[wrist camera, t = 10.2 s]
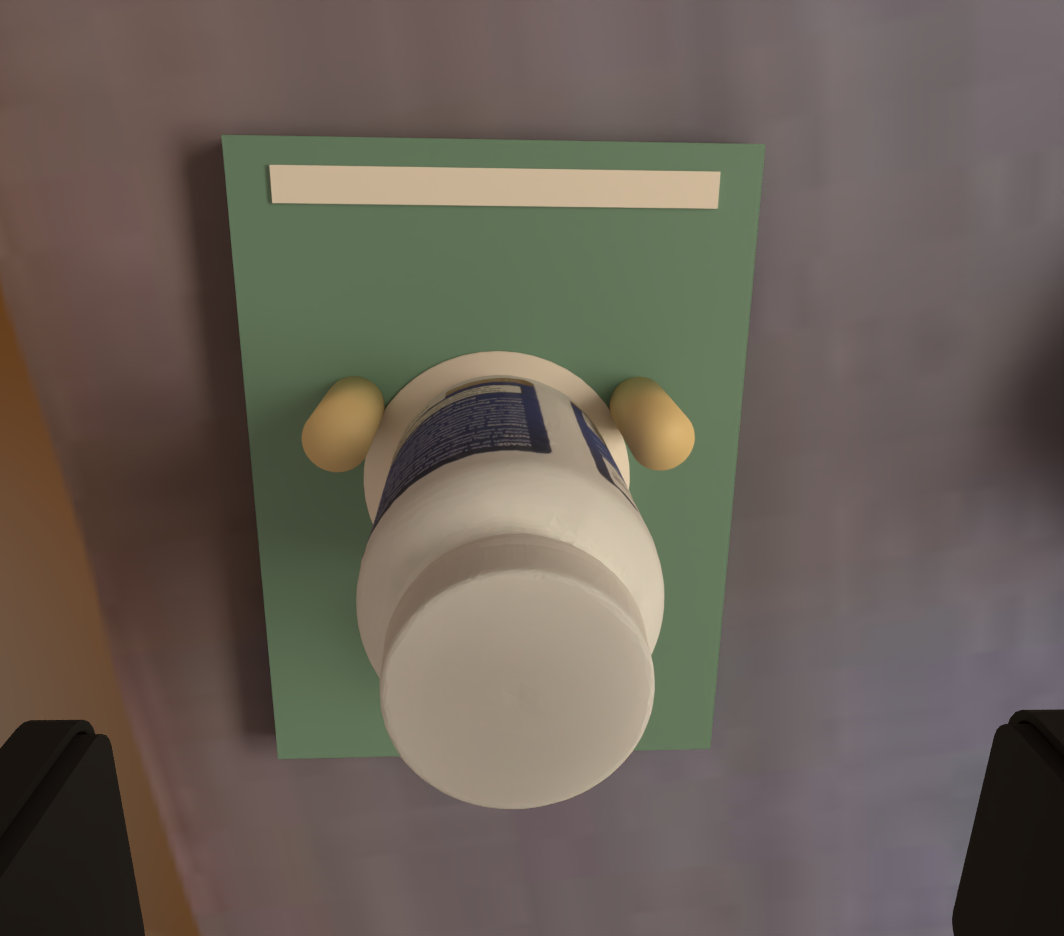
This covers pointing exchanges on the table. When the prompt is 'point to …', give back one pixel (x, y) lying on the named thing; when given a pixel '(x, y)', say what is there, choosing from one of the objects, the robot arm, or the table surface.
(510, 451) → the pill bottle
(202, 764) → the table surface
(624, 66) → the table surface
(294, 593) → the board
